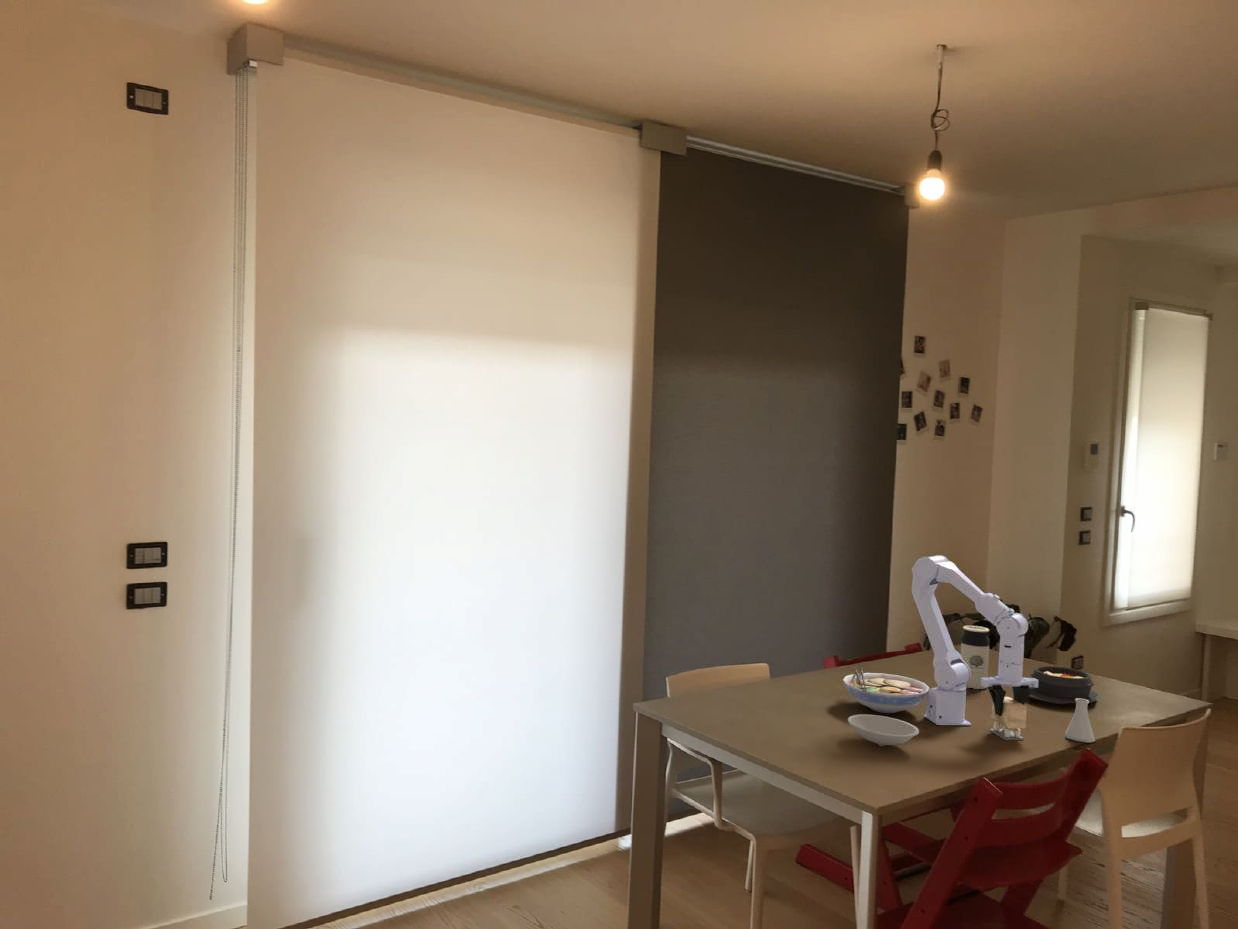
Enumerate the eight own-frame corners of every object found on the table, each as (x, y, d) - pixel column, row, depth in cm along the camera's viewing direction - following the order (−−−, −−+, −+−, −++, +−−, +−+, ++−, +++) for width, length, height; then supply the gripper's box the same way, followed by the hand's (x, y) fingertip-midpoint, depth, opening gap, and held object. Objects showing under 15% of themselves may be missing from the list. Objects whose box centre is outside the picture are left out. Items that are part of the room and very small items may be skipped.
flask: (1068, 732, 246) (1070, 694, 246) (1098, 739, 242) (1101, 700, 241) (1060, 738, 241) (1063, 699, 240) (1091, 745, 236) (1094, 705, 236)
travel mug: (960, 681, 295) (963, 624, 294) (987, 685, 291) (991, 627, 291) (957, 687, 287) (960, 628, 287) (985, 691, 284) (988, 632, 283)
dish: (833, 740, 231) (834, 720, 231) (868, 730, 240) (869, 711, 240) (896, 761, 218) (897, 740, 218) (930, 750, 227) (931, 729, 227)
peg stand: (1005, 740, 237) (1005, 730, 237) (989, 730, 245) (990, 721, 244) (1023, 740, 238) (1024, 730, 238) (1007, 730, 245) (1008, 721, 245)
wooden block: (991, 717, 245) (992, 696, 244) (1007, 717, 245) (1008, 696, 245) (1009, 728, 236) (1010, 706, 236) (1025, 728, 237) (1026, 706, 237)
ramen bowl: (933, 727, 245) (935, 696, 245) (843, 718, 250) (844, 688, 249) (922, 701, 269) (924, 673, 269) (840, 694, 274) (841, 666, 274)
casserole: (1068, 714, 263) (1070, 684, 263) (1007, 697, 278) (1009, 669, 278) (1113, 702, 278) (1115, 674, 278) (1053, 687, 293) (1054, 660, 293)
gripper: (992, 665, 236) (989, 719, 236) (1046, 666, 238) (1043, 719, 238) (977, 658, 243) (974, 711, 243) (1030, 659, 245) (1027, 711, 245)
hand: (1007, 714), depth 241 cm, fingers closed on wooden block, 4 cm apart
